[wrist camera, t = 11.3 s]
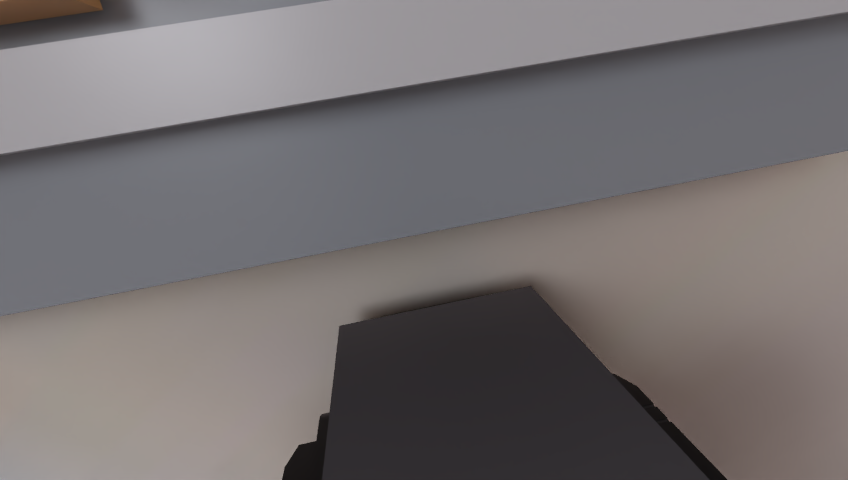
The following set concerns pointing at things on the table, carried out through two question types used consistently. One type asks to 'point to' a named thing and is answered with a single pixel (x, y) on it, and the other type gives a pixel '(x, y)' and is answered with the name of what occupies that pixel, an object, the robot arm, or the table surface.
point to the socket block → (376, 122)
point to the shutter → (43, 9)
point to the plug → (486, 401)
